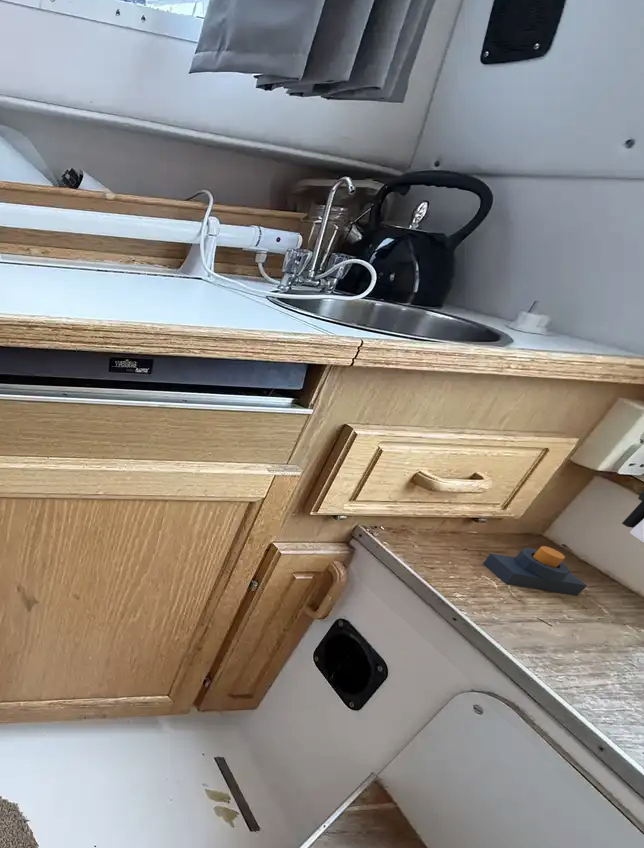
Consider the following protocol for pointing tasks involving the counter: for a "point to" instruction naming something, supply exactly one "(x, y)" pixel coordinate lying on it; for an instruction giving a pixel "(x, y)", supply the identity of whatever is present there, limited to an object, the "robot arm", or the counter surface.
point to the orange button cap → (549, 556)
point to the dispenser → (533, 573)
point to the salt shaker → (638, 531)
